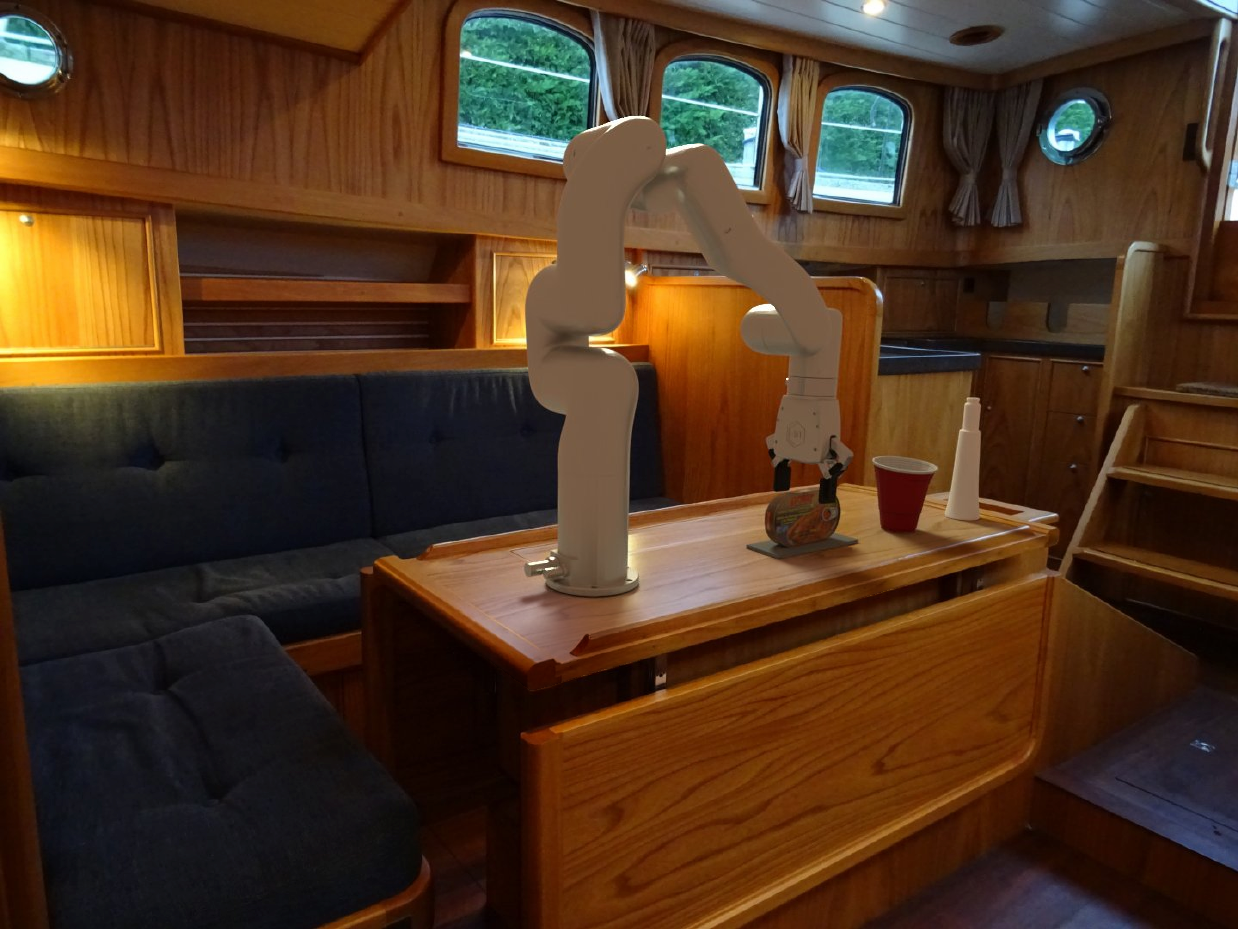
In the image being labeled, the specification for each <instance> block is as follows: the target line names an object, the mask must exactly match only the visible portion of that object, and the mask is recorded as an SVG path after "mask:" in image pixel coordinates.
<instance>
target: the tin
mask: <svg viewBox="0 0 1238 929" xmlns="http://www.w3.org/2000/svg"><path fill="white" fill-rule="evenodd" d="M818 499H819V487H818V488H817V487H816V488H808V489H801V490H795V491H788V492H783V493H780V494H778V495H776V496H774V497H773V498H772V499H771V500H770V501H769V502H768V505H767V507H766V509H765V513H764V528H765V529H764V530H765V533H766V535H767V537H768V538H769V540H772V541H773V542H775V543H777V544H781V545H784V546H786V547H794V546H798V545H803V544H807V543H812V542H817V541H822V540H825V539H827V538H829V537H830V536H831V535H832V534H833V533H834V532H835V533H836V530H837V528H838V526H839V523H840V519H841V504H840V500H839V498H838V496H837V495H836V501H835V502H834V503H828V504H820V503H819V502H818Z"/></svg>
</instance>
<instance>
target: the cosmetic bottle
mask: <svg viewBox="0 0 1238 929" xmlns="http://www.w3.org/2000/svg"><path fill="white" fill-rule="evenodd" d="M980 400H981V399H980V398H979V397H966V402H965V403H964V405H963V406H964V407H963V416H962V417H963V418H962V428H961V429H959V433H958V438H957V439H958V440H957V445H956V452H955V457H954V458H955V461H954V467H953V473H952V478H951V479H952V480H951V484H950V485H951V486H950V490H949V495H948V496H949V497H948V499H947V500H948V501H947V503H946V504H947V505H946V508H945V511H944V516H945V517H947V518H949V519H953V520H958V521H967V522H969V521H978V520H979V519H981V515H980V514H981V513H980V504H979V503H980V500H979V499H980V498H979V497H980V496H979V492H980V491H979V489H980V488H979V485H980V484H979V483H980V464H981V461H980V460H981V440H982V439H981V438H982V431H981V430H980V428H979V427H980V421H981V420H980V418H981V411H982V410H981V408H982V405H981V403H980Z"/></svg>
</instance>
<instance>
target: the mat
mask: <svg viewBox="0 0 1238 929" xmlns="http://www.w3.org/2000/svg"><path fill="white" fill-rule="evenodd" d="M858 543H859V539H857V538H855V537H851V536H848V535H844V534H840V533H838V532H836V531H835V532H834V533H833V534H832V535H831V536H830V537H829V538H827V539H825V540H822V541H817V542H812V543H807V544H803V545H798V546H794V547H786V546H784V545H781V544H777V543H775V542H773V541H772V540H771V539H769V540H763V541H758V542H754V543H749V544H746V547H745V548H746V549H748V550H751V551H754V552H758V553H761V554H763V555H766V556H768V557H772V558H775V559H778V560H779V559H783V558H784V559H785V558H789V557H793V556H799V555H804V554H809V553H813V552H818V551H824V550H828V549H832V548H838V547H843V546H849V545H853V544H858Z"/></svg>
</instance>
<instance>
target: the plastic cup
mask: <svg viewBox="0 0 1238 929" xmlns="http://www.w3.org/2000/svg"><path fill="white" fill-rule="evenodd" d="M871 461H872V464H873V467H874V473H875V480H876V481H875V482H876V493H877V506H878V507H877V508H878V510H879V511H878V512H879V522H880V523H879V524H880V528H881V529H882V530H883V531H887V532H890V533H897V534H910V533H912V534H913V533H915V532H916V530H917V528H918V525H919V522H920V521H919V520H920V516H921V514H922V510H923V507H924V503H925V500H926V496H927V492H928V489H929V486H930V484H931V482H932V479H933V477H934V475H935V473H937V472H938V470H939V468H938V466H937V465H935V464H934V463H931V462H928V461H926V460H921V459H917V458H912V457H905V456H894V455H882V456H880V455H879V456H875V457H872V460H871Z"/></svg>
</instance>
